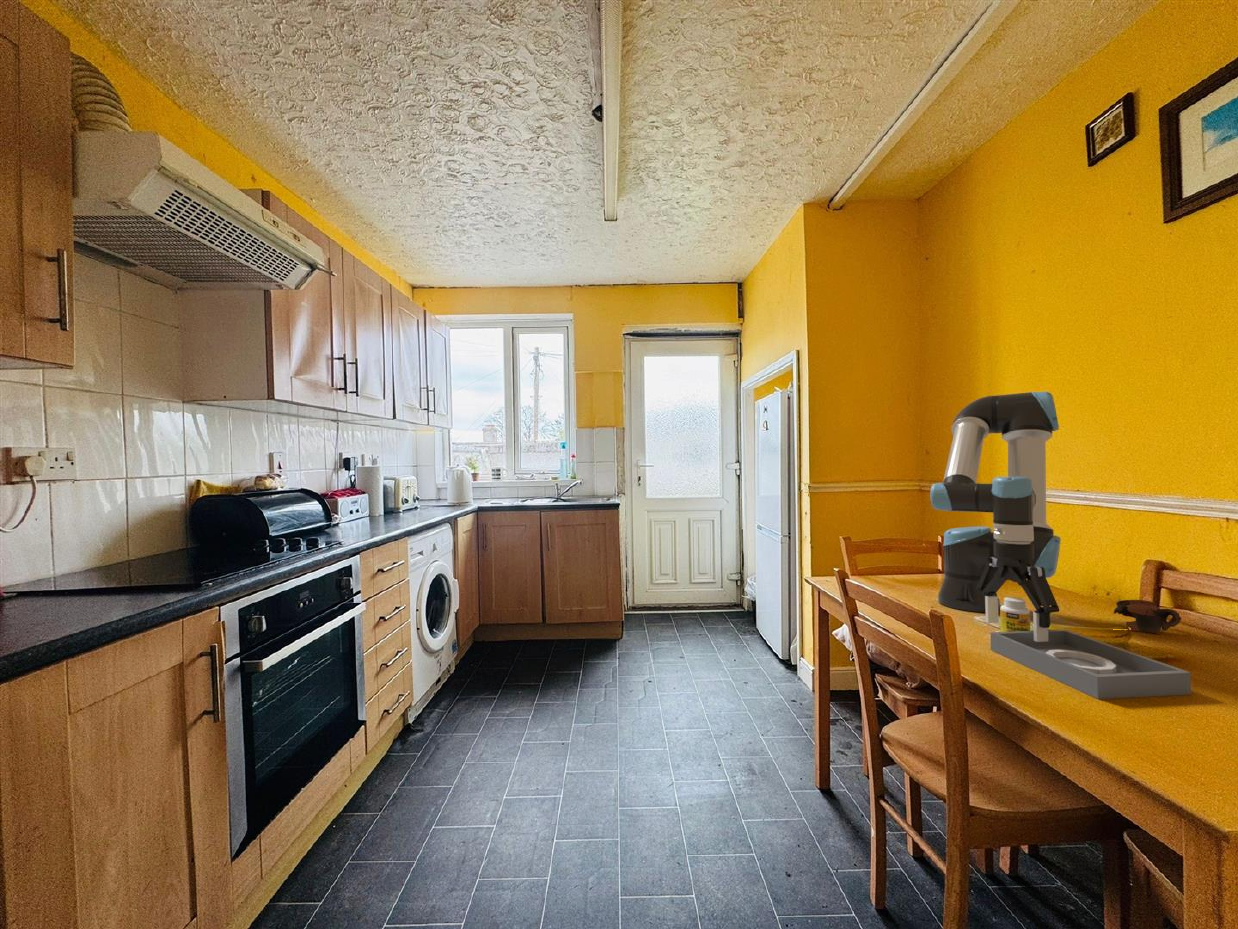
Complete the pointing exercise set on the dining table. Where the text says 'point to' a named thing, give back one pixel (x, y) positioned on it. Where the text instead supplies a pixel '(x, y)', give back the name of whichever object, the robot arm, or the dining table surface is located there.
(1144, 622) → the pottery mug
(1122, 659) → the grey tray
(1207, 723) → the dining table surface
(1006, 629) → the supplement bottle
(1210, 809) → the dining table surface
